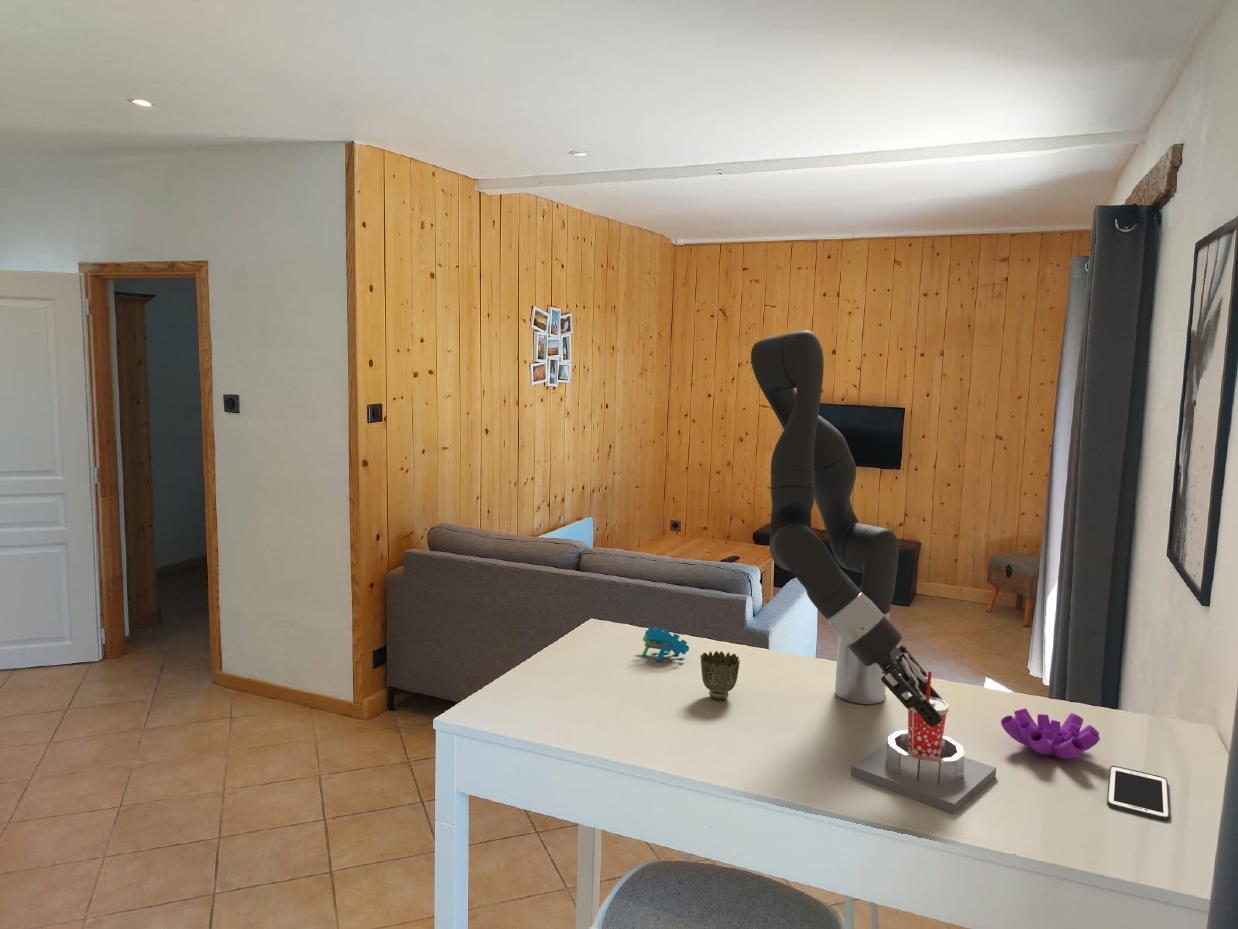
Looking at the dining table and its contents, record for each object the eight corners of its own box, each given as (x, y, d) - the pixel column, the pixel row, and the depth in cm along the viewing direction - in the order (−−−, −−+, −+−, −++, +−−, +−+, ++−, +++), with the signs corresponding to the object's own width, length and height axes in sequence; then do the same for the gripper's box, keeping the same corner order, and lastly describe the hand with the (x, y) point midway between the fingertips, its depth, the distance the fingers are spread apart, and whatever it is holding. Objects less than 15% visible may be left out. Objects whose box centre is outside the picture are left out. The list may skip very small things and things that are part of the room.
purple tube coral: (1098, 784, 137) (1113, 754, 131) (998, 770, 141) (1007, 740, 135) (1087, 721, 145) (1101, 690, 139) (993, 710, 149) (1002, 679, 143)
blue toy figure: (698, 651, 182) (675, 625, 177) (688, 675, 179) (664, 650, 174) (659, 646, 190) (635, 621, 184) (648, 669, 187) (624, 645, 181)
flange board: (897, 744, 143) (898, 735, 142) (995, 777, 132) (996, 767, 131) (850, 775, 131) (851, 765, 131) (953, 814, 120) (954, 804, 120)
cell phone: (1166, 783, 132) (1167, 777, 132) (1169, 825, 119) (1170, 819, 119) (1109, 770, 136) (1110, 764, 136) (1106, 809, 123) (1106, 803, 123)
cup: (740, 706, 157) (742, 664, 156) (700, 705, 157) (702, 663, 156) (735, 691, 165) (737, 651, 164) (697, 689, 165) (699, 650, 164)
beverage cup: (953, 764, 129) (960, 675, 128) (921, 770, 127) (928, 680, 125) (925, 747, 135) (931, 662, 133) (894, 752, 133) (900, 666, 131)
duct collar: (905, 744, 139) (907, 724, 139) (973, 767, 131) (975, 745, 131) (874, 766, 131) (875, 744, 131) (944, 791, 123) (945, 768, 123)
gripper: (876, 626, 125) (956, 719, 122) (887, 603, 138) (960, 686, 135) (837, 655, 128) (915, 747, 124) (852, 630, 141) (922, 712, 137)
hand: (938, 715), depth 130 cm, fingers closed on beverage cup, 6 cm apart
